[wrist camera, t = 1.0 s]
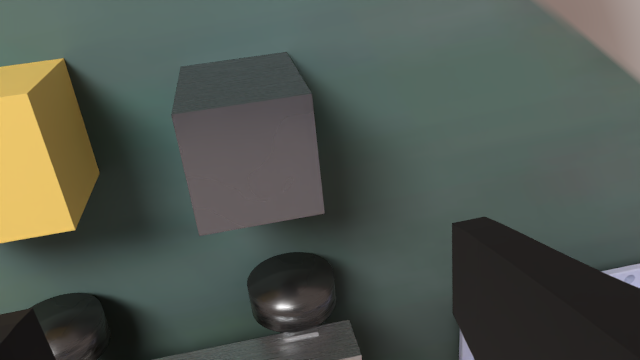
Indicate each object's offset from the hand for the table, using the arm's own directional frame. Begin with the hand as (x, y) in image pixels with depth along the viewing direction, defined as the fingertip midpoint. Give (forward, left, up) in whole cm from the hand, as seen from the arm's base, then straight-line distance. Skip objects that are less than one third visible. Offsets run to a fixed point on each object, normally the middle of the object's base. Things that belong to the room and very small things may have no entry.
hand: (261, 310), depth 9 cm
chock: (+7, -1, -11) cm, 13 cm away
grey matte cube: (0, 0, -10) cm, 11 cm away
